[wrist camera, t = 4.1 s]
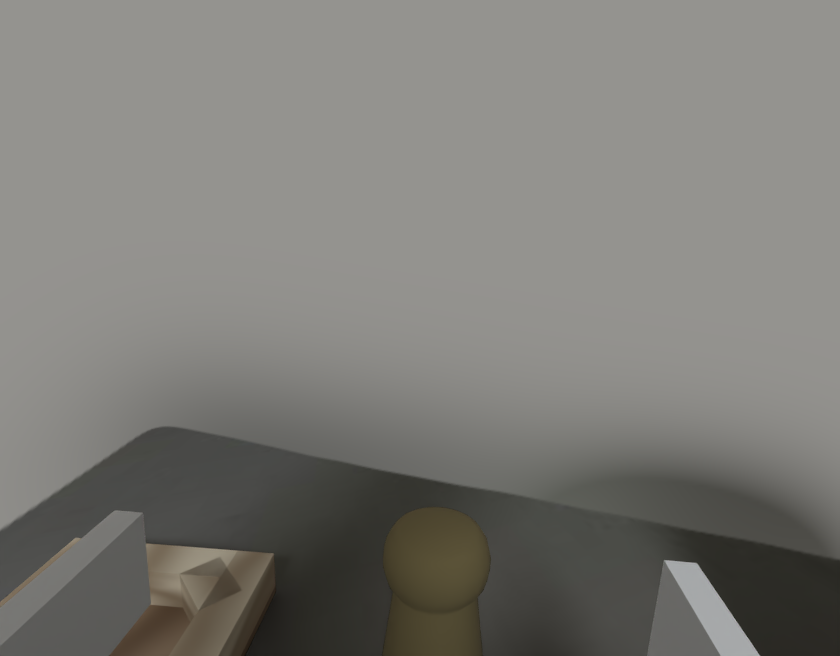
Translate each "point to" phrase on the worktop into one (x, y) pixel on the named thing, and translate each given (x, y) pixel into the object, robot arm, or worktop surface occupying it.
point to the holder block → (196, 601)
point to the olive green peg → (435, 583)
